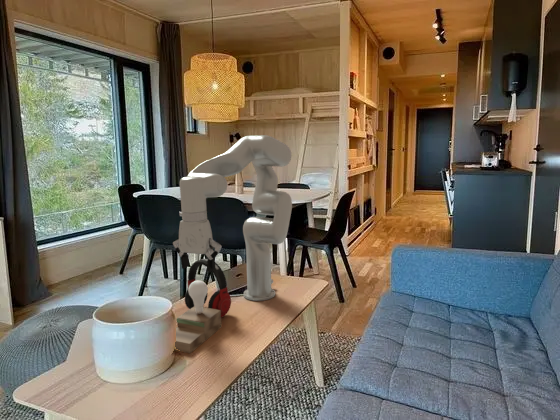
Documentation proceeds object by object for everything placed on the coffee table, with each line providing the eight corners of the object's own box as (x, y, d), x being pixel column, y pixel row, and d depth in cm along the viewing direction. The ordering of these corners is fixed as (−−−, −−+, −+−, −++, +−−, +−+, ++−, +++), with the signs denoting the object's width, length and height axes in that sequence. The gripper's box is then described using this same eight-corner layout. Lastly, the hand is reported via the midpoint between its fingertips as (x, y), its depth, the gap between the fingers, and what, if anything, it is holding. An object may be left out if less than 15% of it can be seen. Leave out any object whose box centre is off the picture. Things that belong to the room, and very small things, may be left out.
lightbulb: (211, 314, 130) (209, 281, 128) (192, 318, 128) (190, 285, 126) (206, 308, 136) (204, 276, 134) (187, 312, 133) (185, 279, 131)
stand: (195, 322, 139) (194, 305, 138) (221, 327, 135) (220, 310, 134) (162, 347, 122) (160, 328, 121) (190, 353, 119) (189, 334, 118)
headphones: (235, 314, 145) (234, 260, 141) (215, 324, 137) (213, 267, 134) (201, 303, 155) (199, 252, 152) (181, 312, 147) (178, 259, 144)
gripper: (164, 217, 126) (168, 270, 129) (212, 220, 119) (215, 275, 123) (178, 212, 133) (182, 262, 136) (225, 215, 126) (228, 267, 129)
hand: (198, 269), depth 129 cm, fingers open, 9 cm apart
